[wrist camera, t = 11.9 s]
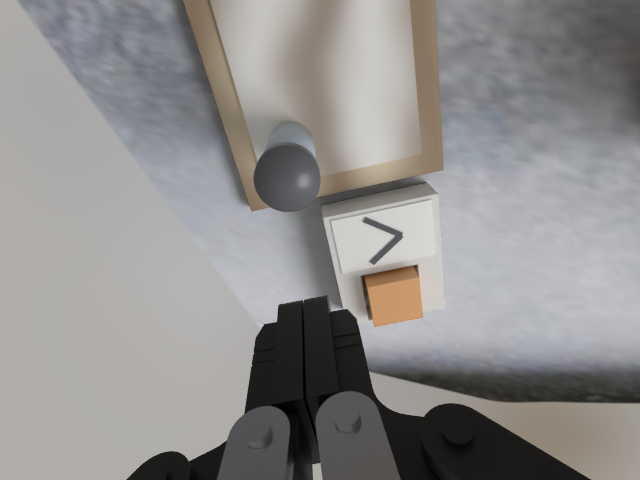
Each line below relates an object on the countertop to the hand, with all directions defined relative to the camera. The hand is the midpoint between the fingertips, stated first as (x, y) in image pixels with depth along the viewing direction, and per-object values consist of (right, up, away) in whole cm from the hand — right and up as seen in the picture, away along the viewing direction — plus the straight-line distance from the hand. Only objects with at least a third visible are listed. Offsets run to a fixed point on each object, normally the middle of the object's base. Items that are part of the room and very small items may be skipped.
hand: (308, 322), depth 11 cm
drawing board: (0, +15, +11) cm, 18 cm away
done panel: (+5, +2, +18) cm, 19 cm away
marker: (-2, +9, +13) cm, 15 cm away
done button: (+6, -1, +17) cm, 18 cm away
